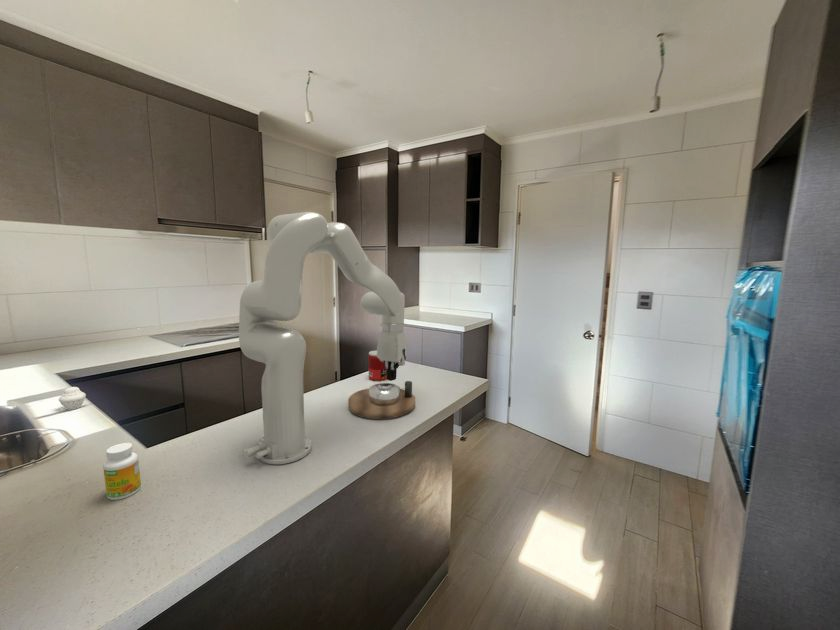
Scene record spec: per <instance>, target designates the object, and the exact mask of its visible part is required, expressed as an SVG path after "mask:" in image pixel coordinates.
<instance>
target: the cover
mask: <svg viewBox="0 0 840 630" xmlns="http://www.w3.org/2000/svg"><path fill="white" fill-rule="evenodd" d="M400 389H401V388H400V386H399V385H397V384H394V383H389V382H381V383H376V384H373V385H371V386H369V401H370V403H371V404H374V405H377V406H390V405H394V404H397V403H398V402H399V401H400Z"/></svg>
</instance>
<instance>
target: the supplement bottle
mask: <svg viewBox="0 0 840 630" xmlns="http://www.w3.org/2000/svg"><path fill="white" fill-rule="evenodd" d="M133 450H134V449H133V444H132V443H131V442H124V443H118V444H115V445H112V446H110V447H108V448H107V449H106V453H105V454H106V458H107V459H106V460H105V461H104V463H103V466H102V467H103V475H104V483H105V484H104V485H105V491H106V492H105V493H106V498H107V499H108V500H112V501H115V500H116V501H117V500H122V499H125V498H128V497H130V496H133V495H134V494H136V493H137V492H138V491H139V490H140V489H141V487H142V482H141V481H142V480H141V472H140V471H141V470H140V464H139V463H140V462H139V456H138V454H137V453H135V452H133Z"/></svg>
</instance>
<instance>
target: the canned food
mask: <svg viewBox="0 0 840 630" xmlns="http://www.w3.org/2000/svg"><path fill="white" fill-rule="evenodd" d="M368 378H369V380H370V381H373V382H384V381H387V369H386V367H385V364H384V362H382V361H380V359H379V358H378V357H377V349H376V350H369V352H368Z"/></svg>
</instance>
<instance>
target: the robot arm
mask: <svg viewBox="0 0 840 630" xmlns="http://www.w3.org/2000/svg"><path fill="white" fill-rule="evenodd" d="M267 233H268V237H269V239H270V240H271V242H270V245H269V246H268V249H267V250H266V255H265V261H264V271H263V279H259V280H255V281H253V282H252V281H251V283H249V284H248V285H247V286H246V287H244V290H243V292H242V293H241V296H240V300H239V312H238V313H239V314H238V315H239V318H238V320H239V322H238V324H239V325H238V342H239V347H240V349H241V352H242V354H243V355H244V356H245V357H246V358H248V359H249V360H253V361H255V362H260V363H262V364H265V369H264V371H263V374H262V378H261V384H260V385H261V387H260V388H261V389H260V391H261V403H262V421H263V423H262V425H263V437H261V438H259V443H257V444H256V446H253V447H250V448H247V449H245V450H244V451H243V455H244V457H245V459H249V458H252V457H255V459H258V460H260V461H261V462H263V463H265V464H268V465H284V464H289V463H293V462H296V461H299V460H301V459H303V458H304V457H306V456H307V455H308V454H309V453H310V452H311V450H312V448H313V447H312V444H313V443H312V440H311V439H310V438H309V437H307V436H306V431H305V430H306V427H305V426H306V425H305V400H304V399H305V397H304V394H305V393H304V392H305V391H304V366H305V358H306V354H307V343H306V341H305V338H304V336H303V335H302V334H301V332H299V331H298V330H296V329H294V328H291V327H287V326H282V325H276V321H277V322H278V321H279V322H290V321H293V320H295V319H296V318H297V317H298V316H299V315H300V313H301V310H302V301H303V274H304V265H305V263H306V259H307V258H308V256H309V254H317V255H319V254H320V255H321V254H322V255H323V254H329V255H330V256H331V258H332V259H333V261H334V262H335V263H336V265H337V267H338V268H339V269H340V271H341V272H342V274H343V275H344V276H345V278H346V279H347V280H348V281H349V282H351V283H353V284H355V285H358V286H360V287H362V288H364V289H367V290H369V291H367V292H366V293H365V294H363V295H362V297H361V299H360V307H361V309H362V310H363V311H364V312H365V314H370V315H375V316H381V317H382V318H381V323H380V327H381V330H379V334H378V340H377V348H376V350H377V357H378V358H379V359H380V361H382V362H384V364H385V367H386V369H387V379H386V381H389V382H392V381H395V380H396V379H397V372H398V371H397V369H399V367H401V366H402V367H403V366H405V365H406V360H407V338H406V337H407V336H406V332H405V331H404V330H405V302H406V301H405V300H406V299H405V298H406V296H405V294H404V293H403V292H402V291H401V290H400V289H399V287H398V285H397V284H396V283H395V281H394V280H393V279H392V278H391V277H390V276H389V275H388V274H386V273H385V272H384V271H383V270H381V269H380V268H379V267H377V266H376V265H375V264H373V263H372V262H371V261H370V259H369V257H368V255H367V254H366V253H365V251H364V249H363V248H362V246H361V244H360V242H359V240H358V239H357V237H356V235H355V234H354V231H353V230H352V229H351V227H350V226H349V225H347V224H346V223H344V222H343V223H342V222H328V221H327V219H326V218H325V216H323V215H322V214H320V213H318V212H313V211H305V212H302V211H301V212H295V213H287V214H286V213H285V214H279V215H276V216H275V217H272V219H271V220H270V222H269V224H268V226H267Z"/></svg>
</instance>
